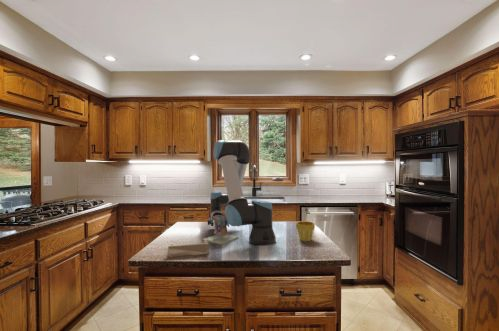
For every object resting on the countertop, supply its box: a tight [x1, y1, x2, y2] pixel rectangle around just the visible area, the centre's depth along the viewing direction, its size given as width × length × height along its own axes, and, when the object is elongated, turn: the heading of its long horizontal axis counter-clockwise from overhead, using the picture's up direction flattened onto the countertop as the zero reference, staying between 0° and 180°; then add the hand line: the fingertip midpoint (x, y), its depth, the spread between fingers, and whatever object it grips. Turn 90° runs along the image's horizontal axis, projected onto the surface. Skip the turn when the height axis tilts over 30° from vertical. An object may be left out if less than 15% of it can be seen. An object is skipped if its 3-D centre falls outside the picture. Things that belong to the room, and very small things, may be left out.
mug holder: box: [167, 241, 210, 258], centre depth 144 cm, size 18×19×5 cm
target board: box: [202, 234, 240, 246], centre depth 162 cm, size 15×15×1 cm
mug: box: [213, 214, 229, 236], centre depth 162 cm, size 12×9×11 cm
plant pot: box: [295, 220, 315, 242], centre depth 159 cm, size 10×10×10 cm
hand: (221, 224), depth 157 cm, fingers closed on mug, 7 cm apart
